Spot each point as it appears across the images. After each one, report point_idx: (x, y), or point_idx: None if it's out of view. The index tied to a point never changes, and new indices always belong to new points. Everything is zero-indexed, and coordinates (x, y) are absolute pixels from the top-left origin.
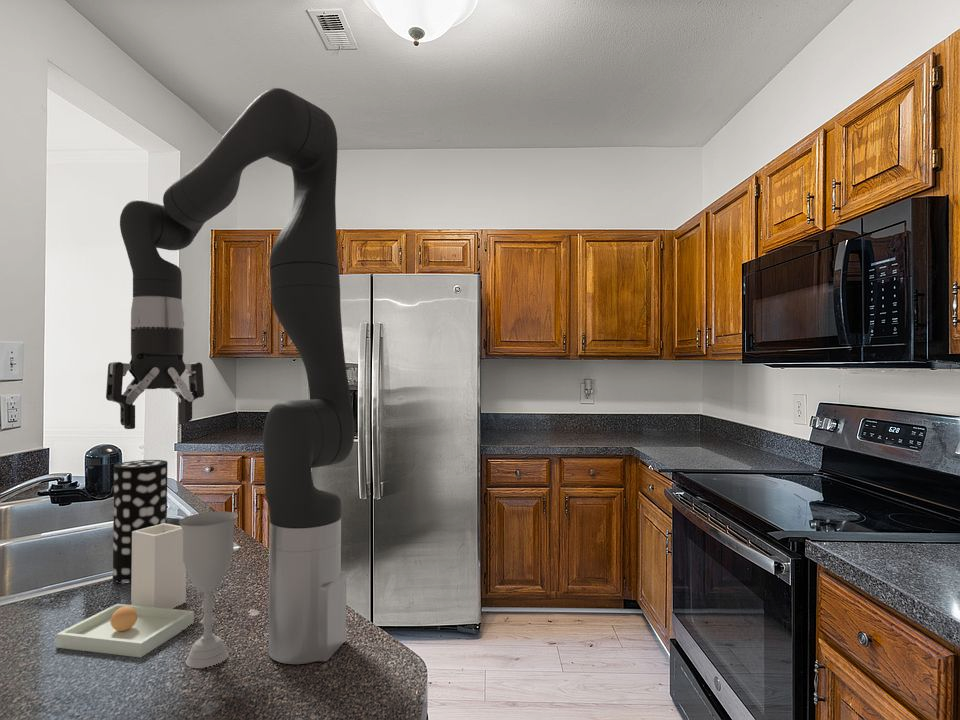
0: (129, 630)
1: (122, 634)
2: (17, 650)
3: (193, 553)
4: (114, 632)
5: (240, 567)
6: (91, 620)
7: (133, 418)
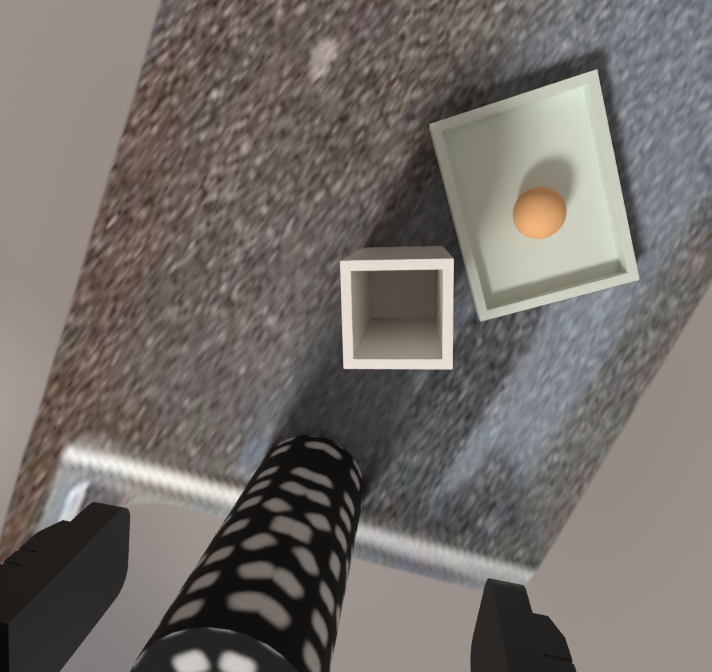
0: None
1: None
2: (665, 331)
3: None
4: None
5: (157, 325)
6: (556, 291)
7: (513, 630)
